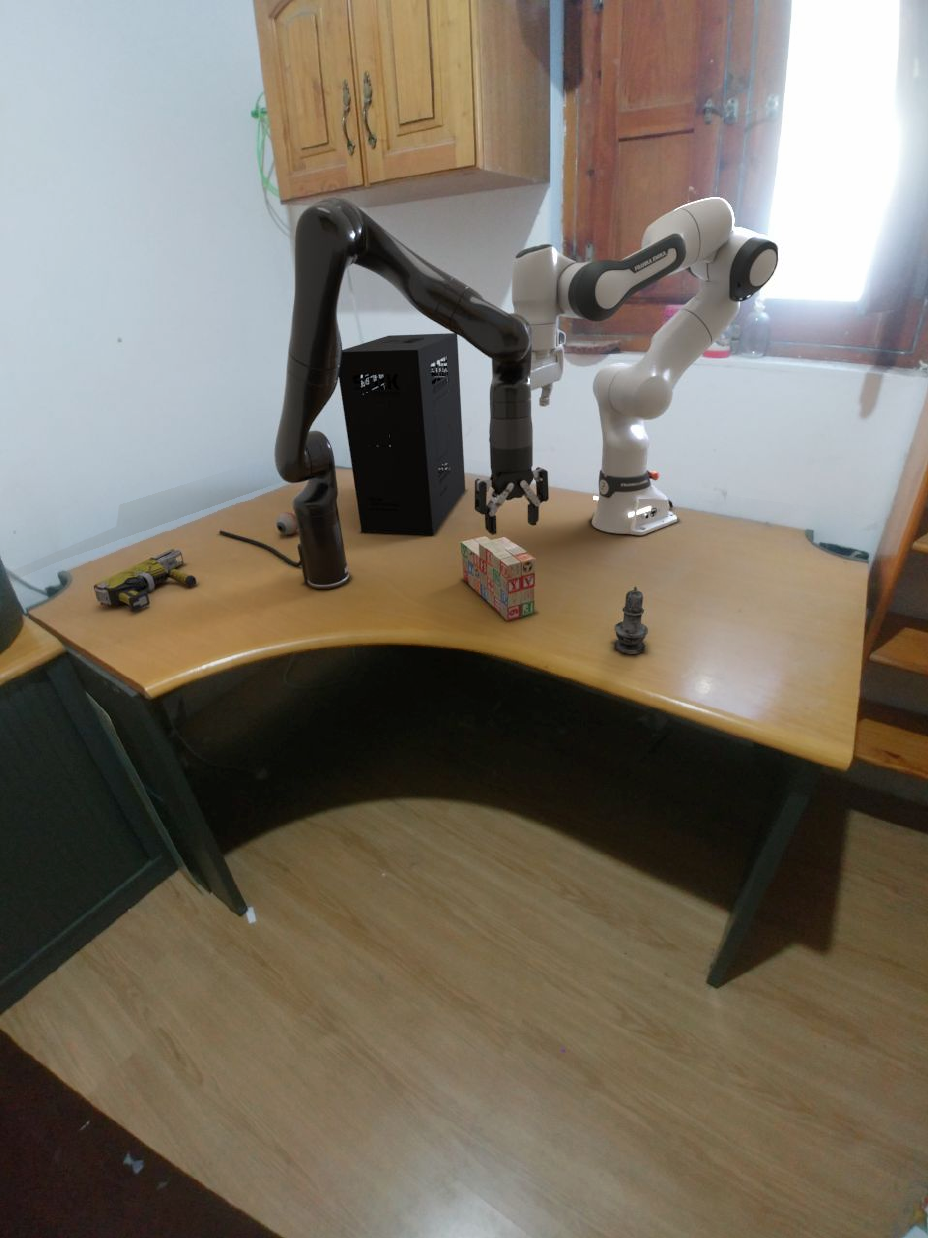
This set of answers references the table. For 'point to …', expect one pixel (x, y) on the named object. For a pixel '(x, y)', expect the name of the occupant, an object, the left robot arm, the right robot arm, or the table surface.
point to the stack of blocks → (500, 574)
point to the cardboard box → (404, 431)
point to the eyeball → (286, 523)
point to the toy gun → (141, 581)
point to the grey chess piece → (631, 625)
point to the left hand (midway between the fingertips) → (512, 528)
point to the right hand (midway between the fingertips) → (534, 410)
